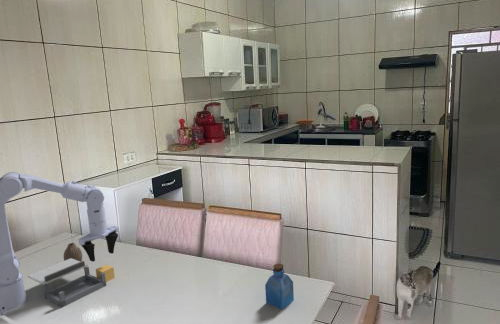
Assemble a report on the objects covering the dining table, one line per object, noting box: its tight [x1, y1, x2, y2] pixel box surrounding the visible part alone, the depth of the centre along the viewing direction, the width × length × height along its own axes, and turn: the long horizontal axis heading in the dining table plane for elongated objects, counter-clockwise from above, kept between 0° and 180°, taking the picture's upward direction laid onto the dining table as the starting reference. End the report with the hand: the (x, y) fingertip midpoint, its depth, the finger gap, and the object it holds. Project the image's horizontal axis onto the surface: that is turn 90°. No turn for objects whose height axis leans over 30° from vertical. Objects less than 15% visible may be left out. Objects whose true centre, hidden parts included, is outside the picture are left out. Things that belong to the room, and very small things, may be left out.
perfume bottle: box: [264, 263, 295, 310], centre depth 120 cm, size 6×6×12 cm
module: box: [95, 264, 116, 283], centre depth 141 cm, size 4×4×5 cm
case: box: [42, 266, 107, 308], centre depth 133 cm, size 16×11×6 cm
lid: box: [27, 258, 89, 286], centre depth 138 cm, size 16×11×2 cm
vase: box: [63, 242, 83, 262], centre depth 157 cm, size 7×7×9 cm
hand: (102, 256), depth 140 cm, fingers open, 7 cm apart
